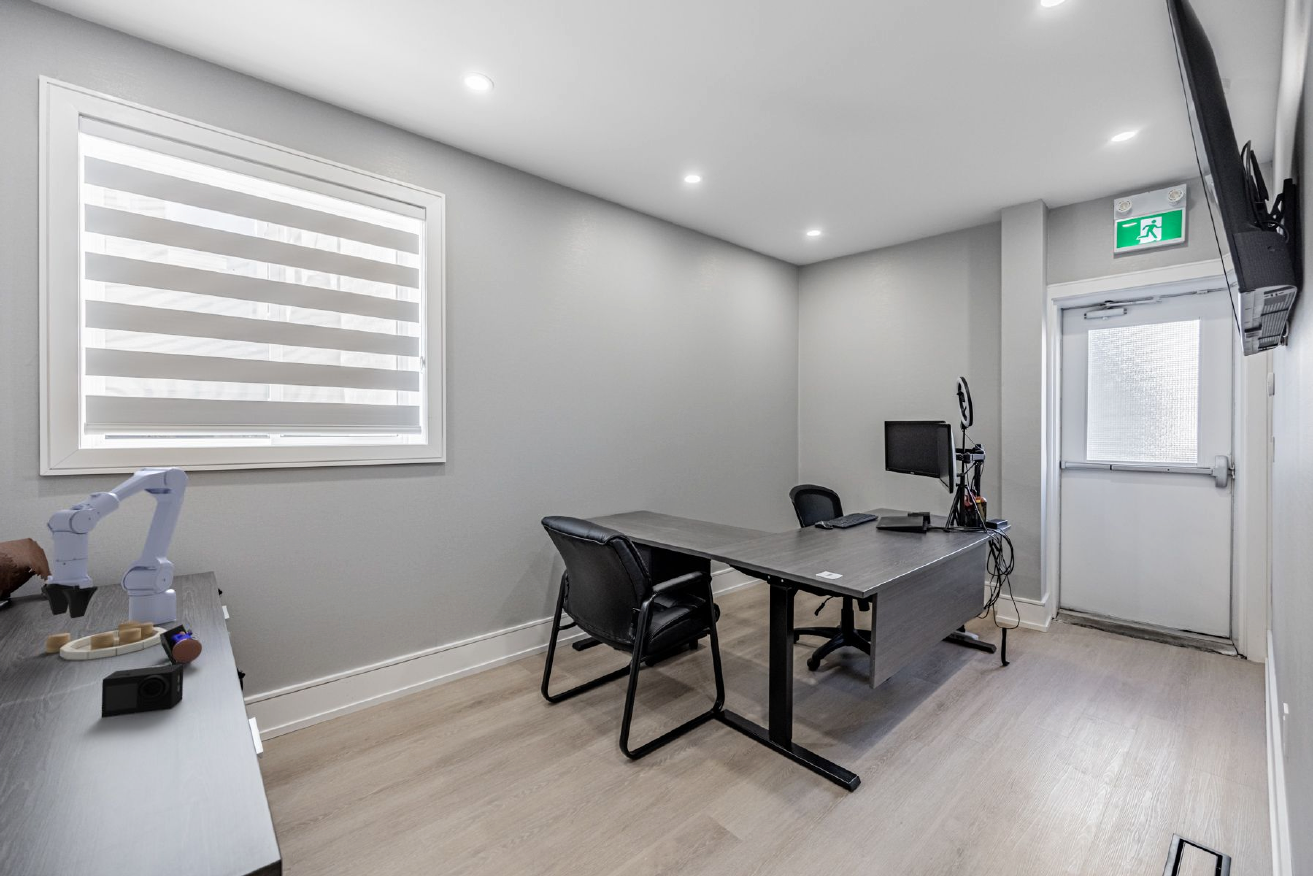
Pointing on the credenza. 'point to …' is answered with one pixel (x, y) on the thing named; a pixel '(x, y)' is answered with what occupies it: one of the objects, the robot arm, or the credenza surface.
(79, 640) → the tray
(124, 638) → the seated bead
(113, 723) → the credenza surface
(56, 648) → the bead
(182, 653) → the character figurine
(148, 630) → the seated bead
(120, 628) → the bead
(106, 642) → the seated bead
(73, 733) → the credenza surface
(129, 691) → the digital camera
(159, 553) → the robot arm
